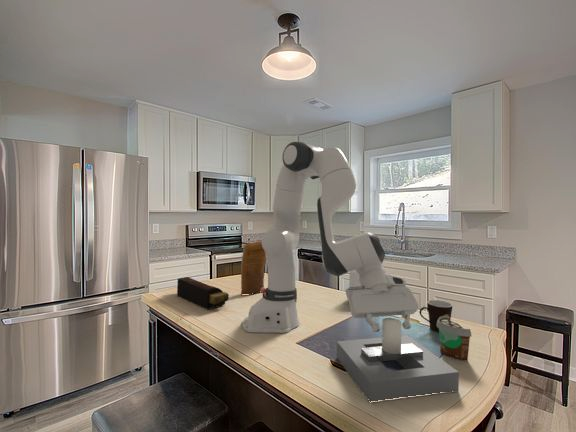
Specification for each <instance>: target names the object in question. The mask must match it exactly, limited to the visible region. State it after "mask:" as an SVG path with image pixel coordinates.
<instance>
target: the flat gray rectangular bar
mask: <svg viewBox="0 0 576 432" xmlns="http://www.w3.org/2000/svg"><path fill="white" fill-rule="evenodd" d="M361 354H362V355H363V356H364V357H365V358H366V359H367V360H368V361H369V362H378V361H380V362H385V361H396V360H397V359H407V358H417V357H423V351H422V350H420V349H419V348H418V347H416V346H415V345H414V344H401V352H400V353H399V354H390V353H387V352H385V351H383V350H382V346H379V347H368V348H361Z"/></svg>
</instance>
